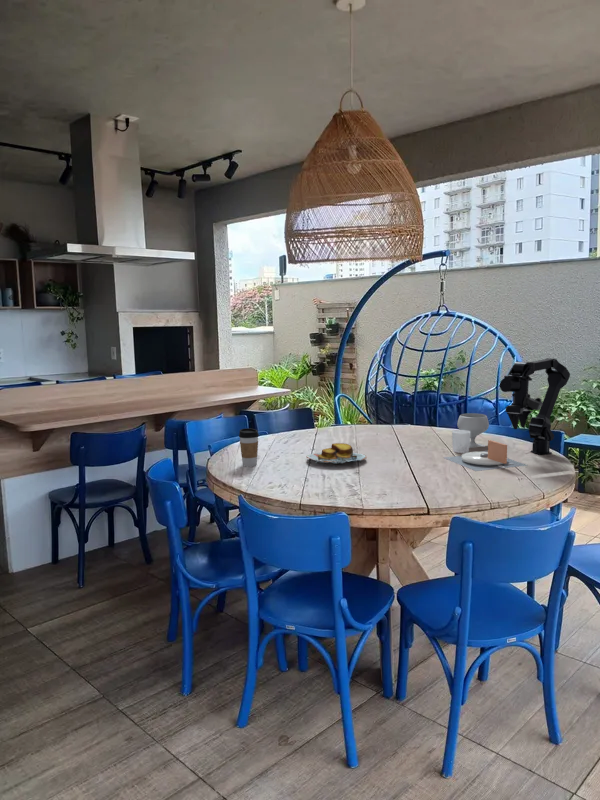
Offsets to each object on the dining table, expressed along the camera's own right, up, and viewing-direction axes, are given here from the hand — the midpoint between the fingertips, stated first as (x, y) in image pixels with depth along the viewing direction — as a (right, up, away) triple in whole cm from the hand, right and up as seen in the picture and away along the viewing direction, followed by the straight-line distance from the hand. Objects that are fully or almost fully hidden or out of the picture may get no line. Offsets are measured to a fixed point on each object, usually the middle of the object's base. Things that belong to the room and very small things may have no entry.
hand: (519, 428), depth 260 cm
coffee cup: (-114, -16, -1) cm, 115 cm away
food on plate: (-77, -15, +3) cm, 79 cm away
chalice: (-13, -10, +24) cm, 29 cm away
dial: (-17, -13, -8) cm, 23 cm away
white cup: (-22, -12, +12) cm, 27 cm away
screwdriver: (-7, -12, +13) cm, 19 cm away
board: (-17, -14, -7) cm, 24 cm away
